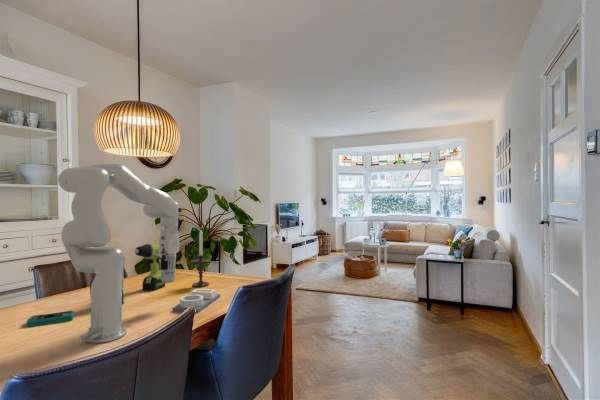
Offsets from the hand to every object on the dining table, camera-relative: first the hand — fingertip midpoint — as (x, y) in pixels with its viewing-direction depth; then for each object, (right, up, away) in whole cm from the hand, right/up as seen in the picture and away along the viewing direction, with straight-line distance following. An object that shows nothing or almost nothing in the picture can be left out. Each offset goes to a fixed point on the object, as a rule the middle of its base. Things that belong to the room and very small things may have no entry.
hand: (168, 268), depth 149 cm
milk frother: (-26, -18, 0) cm, 31 cm away
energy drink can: (0, -6, 0) cm, 6 cm away
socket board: (+12, -18, +5) cm, 22 cm away
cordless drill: (-22, -18, +28) cm, 40 cm away
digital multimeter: (-40, -18, -18) cm, 47 cm away
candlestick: (+3, -18, +39) cm, 43 cm away
